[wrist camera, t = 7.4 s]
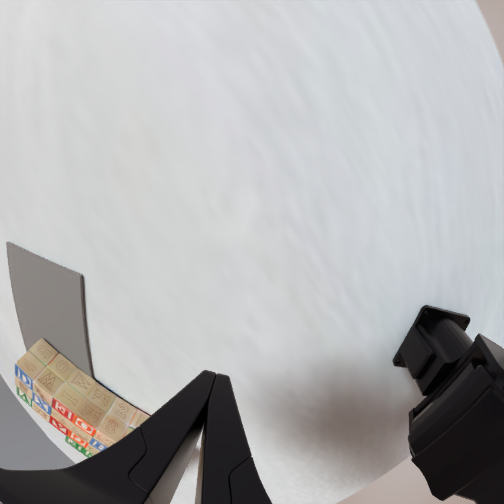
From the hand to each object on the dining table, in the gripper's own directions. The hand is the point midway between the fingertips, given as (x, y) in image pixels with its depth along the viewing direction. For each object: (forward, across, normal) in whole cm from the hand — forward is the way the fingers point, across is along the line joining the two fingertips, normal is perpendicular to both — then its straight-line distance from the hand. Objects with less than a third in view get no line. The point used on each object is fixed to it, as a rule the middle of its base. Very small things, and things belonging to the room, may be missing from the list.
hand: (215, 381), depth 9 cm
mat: (+13, +22, +18) cm, 32 cm away
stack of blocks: (+10, +13, +21) cm, 27 cm away
